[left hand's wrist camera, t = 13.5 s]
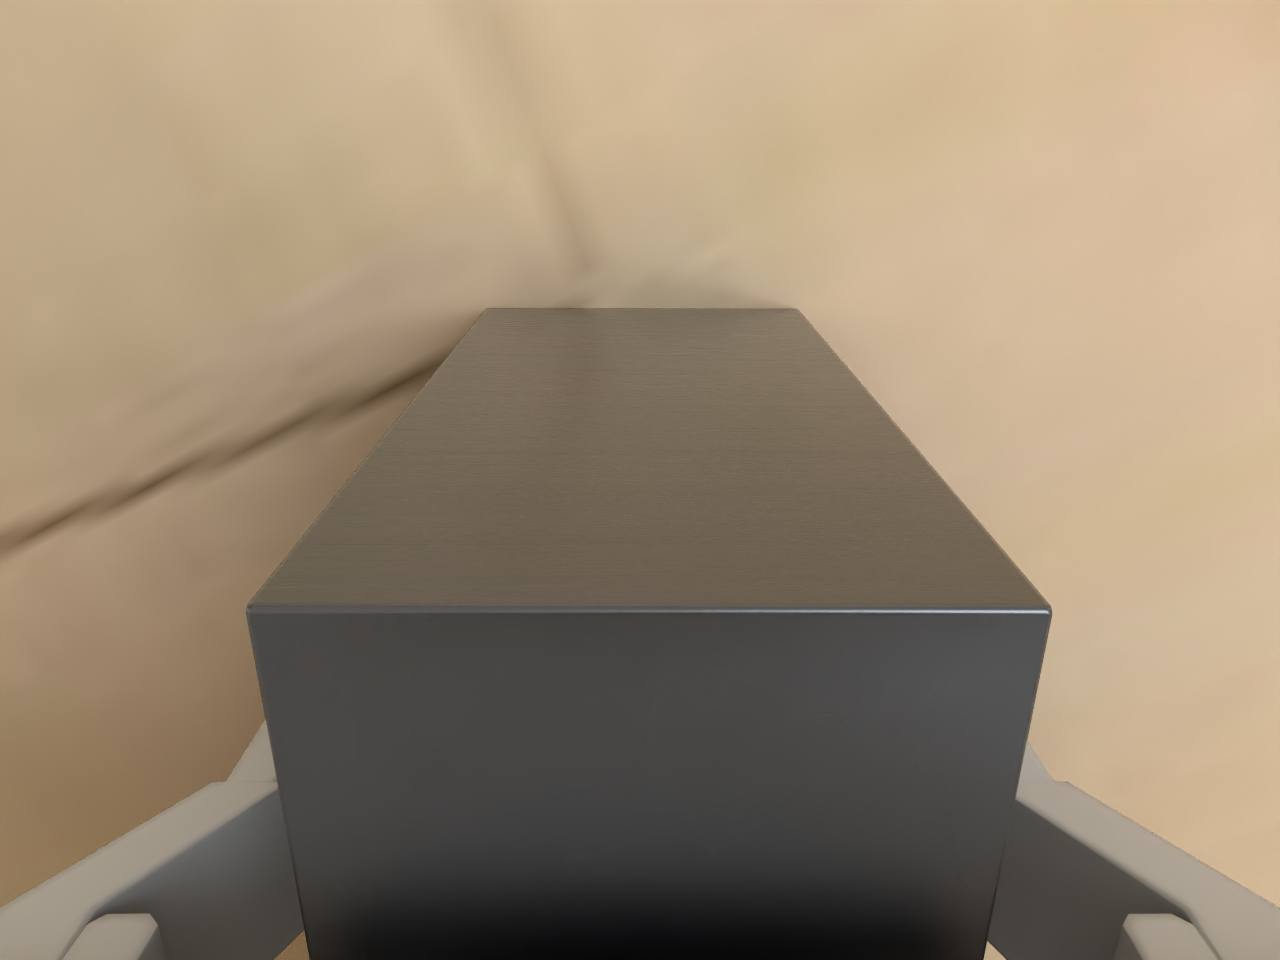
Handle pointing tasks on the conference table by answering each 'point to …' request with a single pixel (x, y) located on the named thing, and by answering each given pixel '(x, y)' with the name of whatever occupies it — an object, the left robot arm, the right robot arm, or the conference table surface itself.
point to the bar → (647, 662)
